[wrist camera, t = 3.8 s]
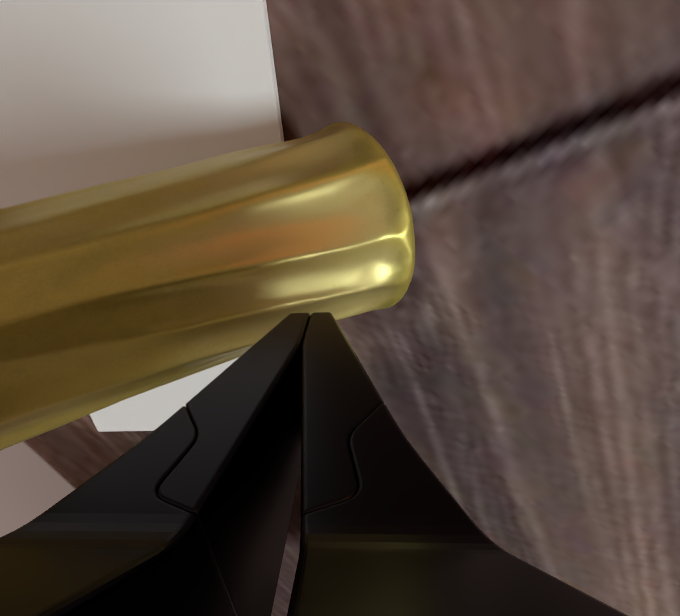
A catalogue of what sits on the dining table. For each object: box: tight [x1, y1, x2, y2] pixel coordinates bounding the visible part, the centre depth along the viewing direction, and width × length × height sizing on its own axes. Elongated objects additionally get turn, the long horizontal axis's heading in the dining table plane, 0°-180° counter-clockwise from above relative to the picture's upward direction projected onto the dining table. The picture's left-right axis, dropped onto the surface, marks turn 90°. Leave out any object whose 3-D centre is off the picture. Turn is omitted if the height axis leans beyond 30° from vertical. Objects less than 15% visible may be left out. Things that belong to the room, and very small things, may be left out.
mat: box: [0, 0, 284, 431], centre depth 17 cm, size 24×12×1 cm, turn 4°
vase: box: [0, 122, 415, 450], centre depth 12 cm, size 6×6×14 cm
